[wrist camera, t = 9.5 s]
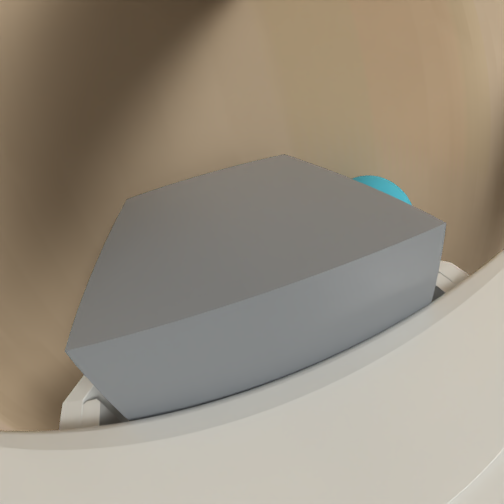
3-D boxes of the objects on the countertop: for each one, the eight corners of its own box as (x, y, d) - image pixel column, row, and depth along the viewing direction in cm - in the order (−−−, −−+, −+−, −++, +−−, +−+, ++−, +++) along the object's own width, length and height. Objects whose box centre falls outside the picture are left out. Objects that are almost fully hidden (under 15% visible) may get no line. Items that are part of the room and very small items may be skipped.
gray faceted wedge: (284, 154, 12) (446, 223, 5) (302, 283, 16) (395, 405, 8) (126, 199, 11) (64, 351, 3) (178, 323, 15) (205, 479, 7)
